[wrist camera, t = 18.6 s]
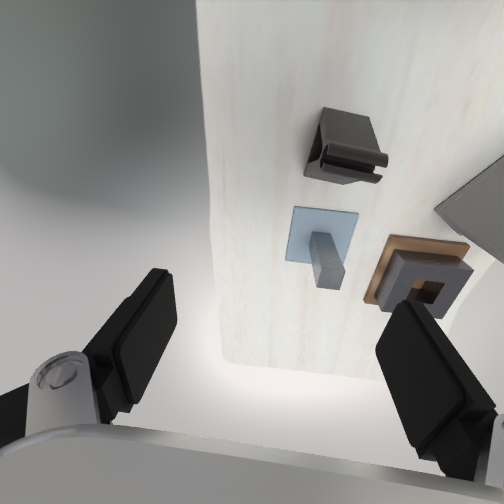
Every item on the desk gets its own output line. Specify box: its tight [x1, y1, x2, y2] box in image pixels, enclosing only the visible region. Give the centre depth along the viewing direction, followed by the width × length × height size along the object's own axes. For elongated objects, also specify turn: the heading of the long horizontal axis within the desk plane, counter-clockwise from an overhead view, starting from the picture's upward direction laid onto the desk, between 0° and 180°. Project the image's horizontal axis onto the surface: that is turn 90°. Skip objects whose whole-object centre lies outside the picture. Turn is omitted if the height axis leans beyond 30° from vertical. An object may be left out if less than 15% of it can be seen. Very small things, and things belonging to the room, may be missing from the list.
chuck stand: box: [364, 235, 470, 305], centre depth 43 cm, size 14×12×1 cm
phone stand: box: [304, 107, 388, 185], centre depth 29 cm, size 9×6×12 cm, turn 169°
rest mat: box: [285, 206, 359, 264], centre depth 41 cm, size 10×10×1 cm
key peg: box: [309, 231, 345, 290], centre depth 37 cm, size 3×3×11 cm
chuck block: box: [374, 249, 474, 319], centre depth 41 cm, size 10×10×4 cm
